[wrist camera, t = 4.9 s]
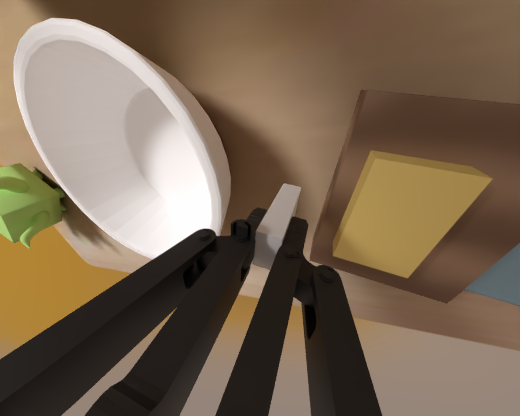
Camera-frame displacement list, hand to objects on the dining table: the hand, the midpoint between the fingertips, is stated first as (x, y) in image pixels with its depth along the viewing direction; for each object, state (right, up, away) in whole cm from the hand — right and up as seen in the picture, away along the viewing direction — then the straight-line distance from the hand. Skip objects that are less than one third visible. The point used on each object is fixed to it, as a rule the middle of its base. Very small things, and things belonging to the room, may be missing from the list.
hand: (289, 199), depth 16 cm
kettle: (-48, +3, +26) cm, 55 cm away
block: (+8, -1, -1) cm, 8 cm away
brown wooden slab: (+11, 0, +2) cm, 11 cm away
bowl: (-13, +6, +9) cm, 17 cm away
